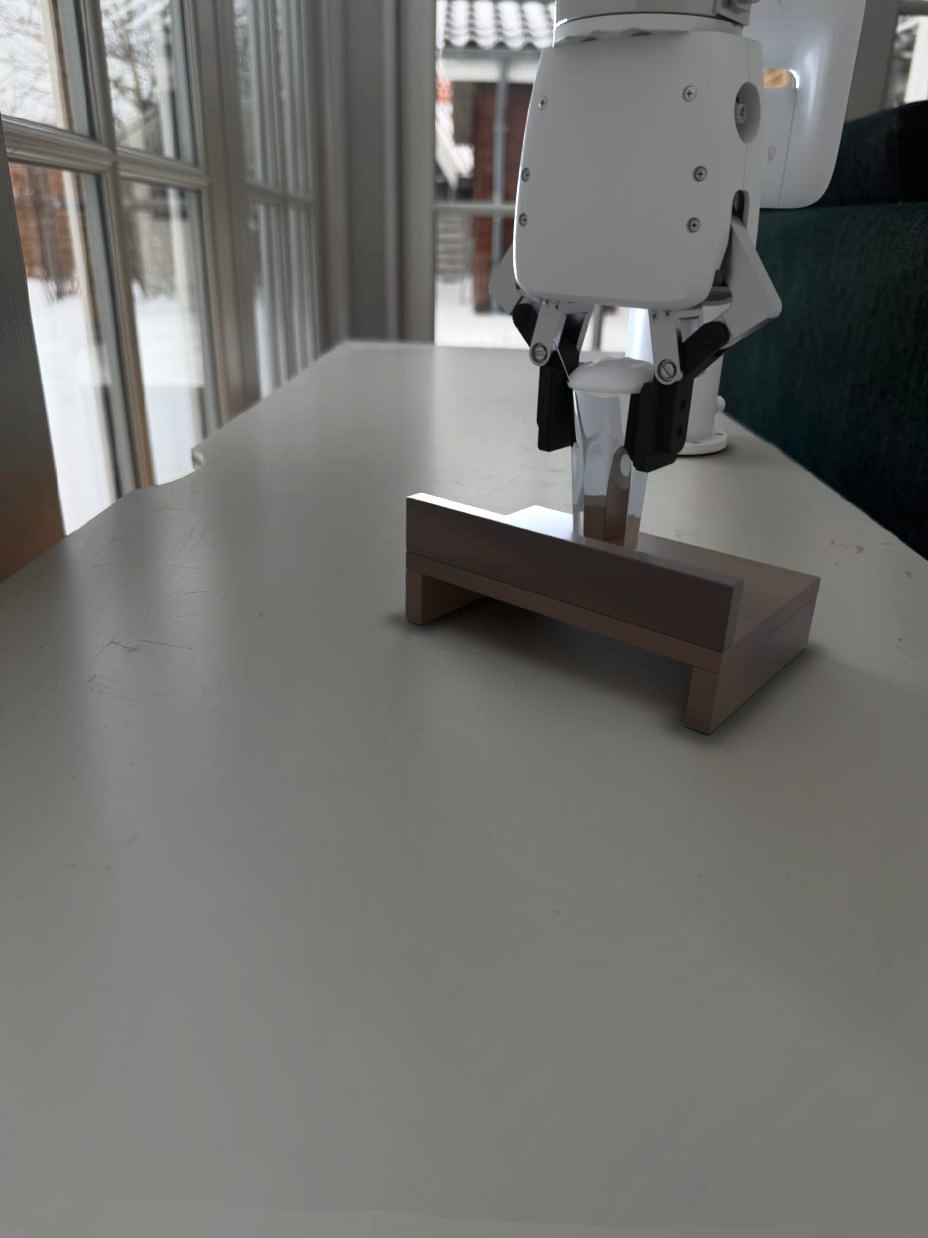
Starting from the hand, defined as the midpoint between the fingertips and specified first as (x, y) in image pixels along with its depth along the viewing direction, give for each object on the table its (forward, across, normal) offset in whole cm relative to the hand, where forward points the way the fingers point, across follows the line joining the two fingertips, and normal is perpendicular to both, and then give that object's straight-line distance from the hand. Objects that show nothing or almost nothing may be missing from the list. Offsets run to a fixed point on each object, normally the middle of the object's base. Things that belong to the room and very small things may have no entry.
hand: (606, 452), depth 43 cm
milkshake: (+5, 0, 0) cm, 5 cm away
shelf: (+10, 0, -1) cm, 10 cm away
